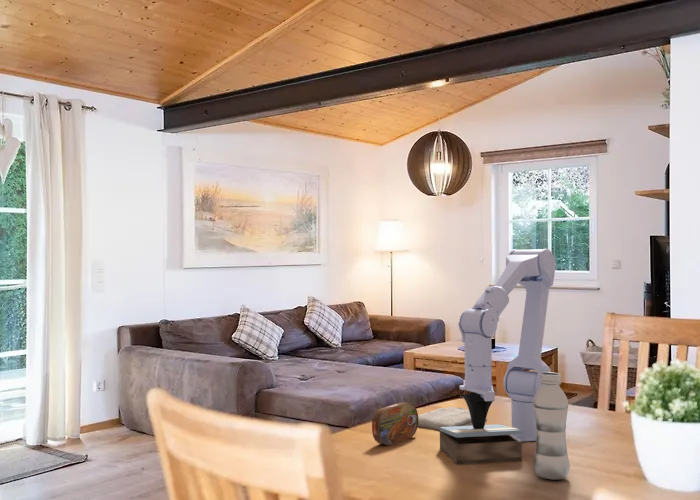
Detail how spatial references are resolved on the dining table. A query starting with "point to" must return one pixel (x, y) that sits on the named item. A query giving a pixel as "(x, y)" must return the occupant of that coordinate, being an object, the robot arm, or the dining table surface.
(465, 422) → the washcloth
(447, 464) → the dining table surface
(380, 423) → the tin
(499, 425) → the lid
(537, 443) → the plastic bottle
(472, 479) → the dining table surface
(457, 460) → the box
